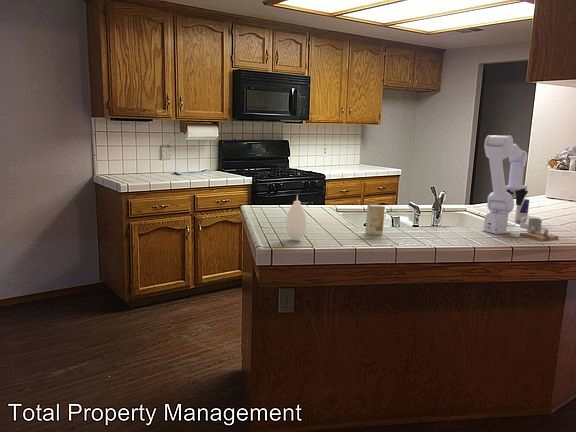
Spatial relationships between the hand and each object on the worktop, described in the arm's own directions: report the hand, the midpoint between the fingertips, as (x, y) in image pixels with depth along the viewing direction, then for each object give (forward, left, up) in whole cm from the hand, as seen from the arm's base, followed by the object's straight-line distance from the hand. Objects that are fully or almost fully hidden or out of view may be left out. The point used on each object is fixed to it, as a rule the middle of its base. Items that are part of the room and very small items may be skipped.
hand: (512, 205), depth 221 cm
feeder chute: (+11, -2, -10) cm, 15 cm away
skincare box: (-71, +9, -11) cm, 73 cm away
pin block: (-6, -20, -10) cm, 23 cm away
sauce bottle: (-108, +9, -11) cm, 109 cm away
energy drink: (+16, +7, -11) cm, 20 cm away
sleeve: (+2, -11, -10) cm, 15 cm away
